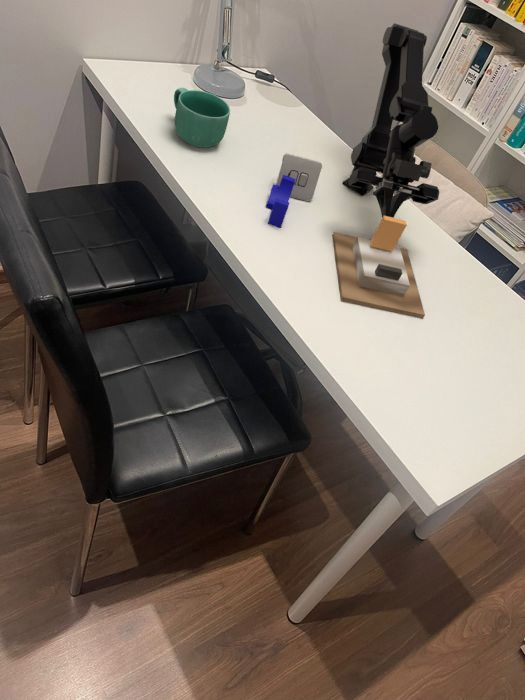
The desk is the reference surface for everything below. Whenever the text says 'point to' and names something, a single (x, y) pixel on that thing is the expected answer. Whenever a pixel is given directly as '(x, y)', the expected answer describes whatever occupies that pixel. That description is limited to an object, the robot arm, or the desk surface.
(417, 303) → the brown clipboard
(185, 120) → the mug
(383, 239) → the orange wedge plank
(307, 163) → the electrical switch
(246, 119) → the desk surface
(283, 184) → the cable clip
